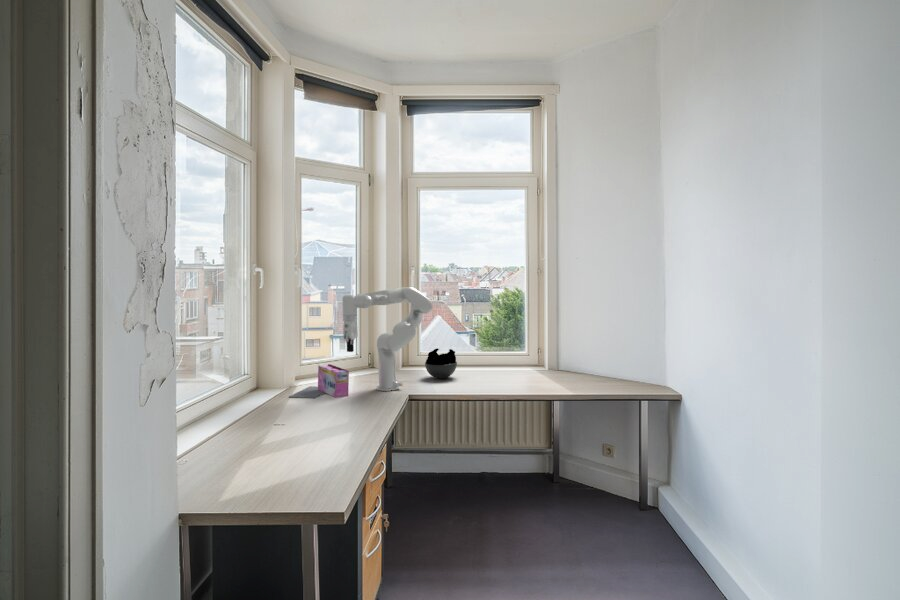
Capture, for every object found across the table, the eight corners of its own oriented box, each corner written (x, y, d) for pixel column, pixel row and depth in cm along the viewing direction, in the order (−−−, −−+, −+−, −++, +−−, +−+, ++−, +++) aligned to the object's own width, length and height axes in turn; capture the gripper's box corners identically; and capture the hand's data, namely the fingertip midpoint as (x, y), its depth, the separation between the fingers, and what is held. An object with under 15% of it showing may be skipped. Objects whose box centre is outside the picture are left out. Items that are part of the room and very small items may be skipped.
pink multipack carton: (316, 388, 284) (316, 365, 283) (329, 387, 289) (329, 363, 288) (335, 397, 266) (335, 372, 265) (349, 395, 271) (349, 370, 270)
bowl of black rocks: (418, 378, 314) (418, 348, 313) (442, 374, 327) (442, 345, 326) (439, 383, 299) (439, 351, 298) (463, 378, 313) (463, 348, 312)
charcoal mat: (334, 388, 290) (334, 386, 290) (315, 398, 265) (315, 397, 265) (309, 387, 292) (309, 386, 292) (288, 397, 268) (288, 396, 268)
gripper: (351, 319, 265) (351, 353, 266) (361, 317, 280) (361, 349, 280) (337, 318, 266) (338, 353, 267) (348, 316, 281) (348, 349, 282)
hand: (350, 351), depth 274 cm, fingers closed
